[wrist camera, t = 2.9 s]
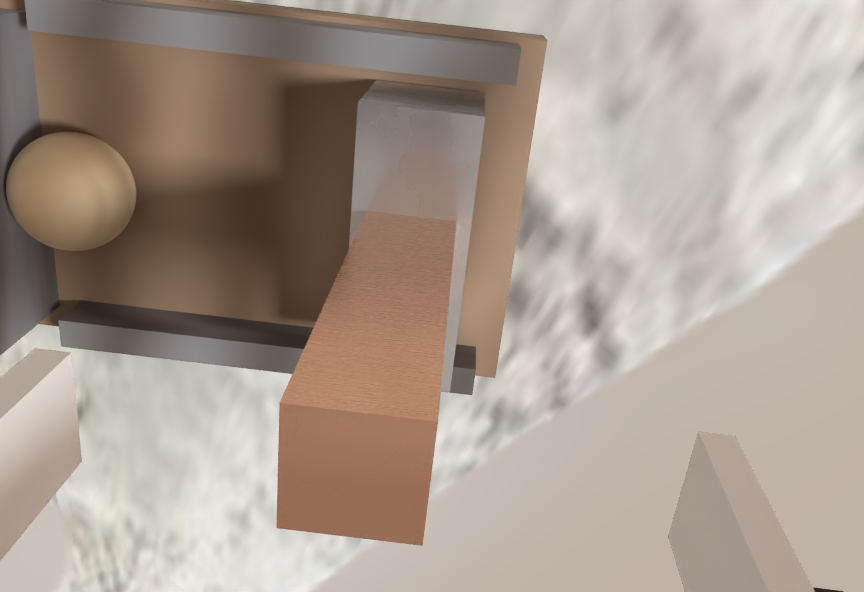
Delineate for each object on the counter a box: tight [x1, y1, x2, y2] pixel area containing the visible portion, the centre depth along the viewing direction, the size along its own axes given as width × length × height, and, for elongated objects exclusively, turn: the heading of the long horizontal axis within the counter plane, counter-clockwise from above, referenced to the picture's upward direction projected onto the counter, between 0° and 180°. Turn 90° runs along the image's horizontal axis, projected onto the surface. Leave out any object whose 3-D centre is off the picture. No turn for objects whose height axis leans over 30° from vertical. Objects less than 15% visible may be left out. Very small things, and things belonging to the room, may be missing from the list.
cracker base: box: [0, 0, 547, 395], centre depth 29 cm, size 22×14×8 cm, turn 84°
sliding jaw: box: [277, 80, 485, 546], centre depth 23 cm, size 4×10×17 cm, turn 174°
